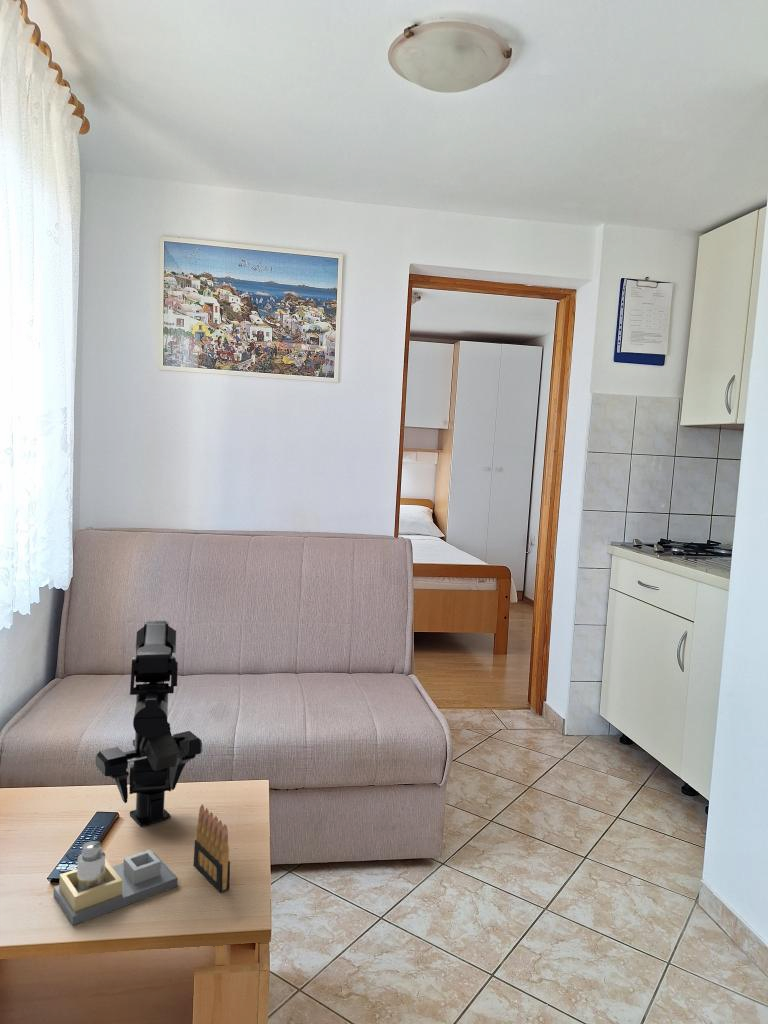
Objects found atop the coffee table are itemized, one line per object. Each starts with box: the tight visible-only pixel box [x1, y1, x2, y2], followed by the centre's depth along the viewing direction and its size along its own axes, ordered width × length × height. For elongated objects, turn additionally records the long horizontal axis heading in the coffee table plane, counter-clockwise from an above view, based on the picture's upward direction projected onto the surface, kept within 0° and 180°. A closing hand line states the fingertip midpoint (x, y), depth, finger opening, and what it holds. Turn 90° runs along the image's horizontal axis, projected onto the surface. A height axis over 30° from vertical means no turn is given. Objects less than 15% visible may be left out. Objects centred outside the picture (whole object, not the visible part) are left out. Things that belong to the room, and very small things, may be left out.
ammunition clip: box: [192, 804, 231, 894], centre depth 128 cm, size 11×2×12 cm, turn 41°
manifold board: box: [53, 849, 179, 926], centre depth 123 cm, size 10×18×4 cm, turn 131°
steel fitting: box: [76, 840, 106, 893], centre depth 120 cm, size 4×4×8 cm
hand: (149, 795), depth 134 cm, fingers open, 9 cm apart
